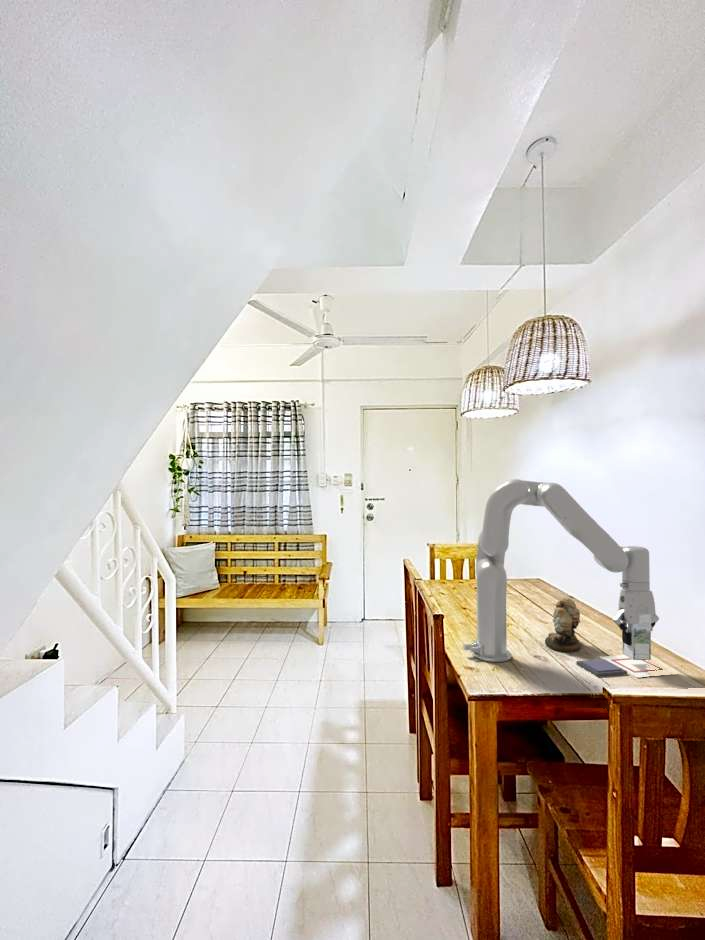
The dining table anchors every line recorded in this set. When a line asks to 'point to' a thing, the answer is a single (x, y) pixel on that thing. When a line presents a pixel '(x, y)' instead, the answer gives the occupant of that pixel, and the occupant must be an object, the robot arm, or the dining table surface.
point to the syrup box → (640, 639)
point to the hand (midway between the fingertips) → (636, 642)
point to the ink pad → (601, 667)
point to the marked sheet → (631, 665)
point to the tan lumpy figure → (564, 627)
